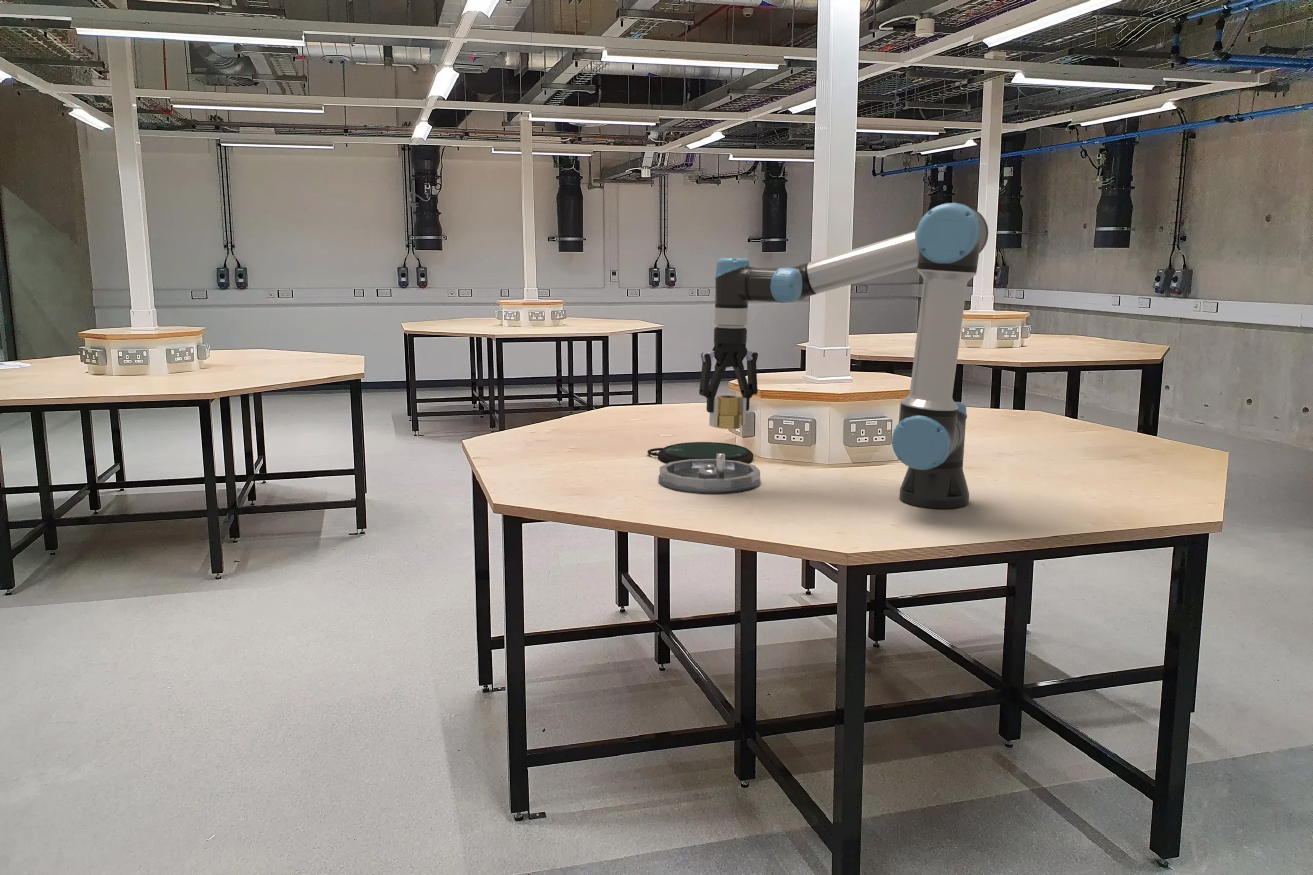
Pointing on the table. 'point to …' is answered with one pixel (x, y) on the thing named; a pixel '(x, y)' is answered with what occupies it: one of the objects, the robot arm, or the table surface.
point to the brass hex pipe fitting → (729, 412)
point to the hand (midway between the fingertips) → (727, 425)
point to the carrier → (709, 476)
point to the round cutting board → (702, 452)
